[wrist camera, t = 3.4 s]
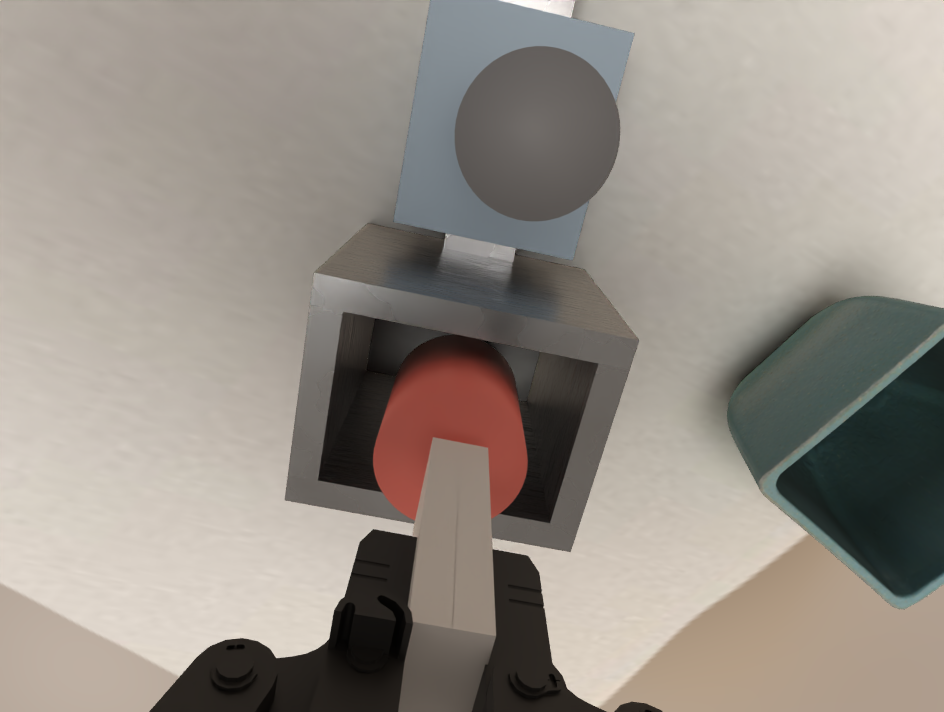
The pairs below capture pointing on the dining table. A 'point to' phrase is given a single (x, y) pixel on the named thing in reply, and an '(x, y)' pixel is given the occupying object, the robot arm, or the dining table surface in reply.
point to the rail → (556, 3)
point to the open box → (472, 315)
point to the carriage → (511, 124)
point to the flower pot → (856, 438)
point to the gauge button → (451, 419)
